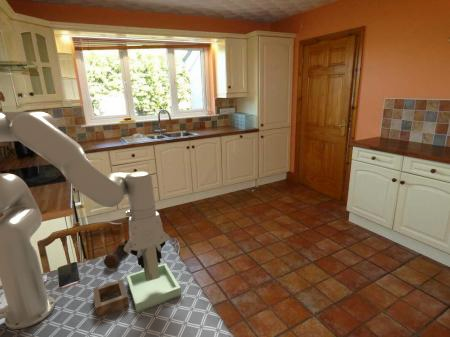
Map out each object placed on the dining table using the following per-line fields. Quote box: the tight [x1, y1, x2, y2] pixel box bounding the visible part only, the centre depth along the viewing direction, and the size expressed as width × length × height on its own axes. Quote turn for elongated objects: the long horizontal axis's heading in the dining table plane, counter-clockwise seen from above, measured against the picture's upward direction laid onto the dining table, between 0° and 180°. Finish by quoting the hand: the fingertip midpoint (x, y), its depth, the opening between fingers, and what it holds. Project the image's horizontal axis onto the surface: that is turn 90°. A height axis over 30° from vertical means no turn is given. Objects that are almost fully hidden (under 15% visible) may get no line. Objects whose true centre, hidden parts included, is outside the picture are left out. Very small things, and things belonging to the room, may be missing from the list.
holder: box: [93, 278, 130, 319], centre depth 87 cm, size 9×10×4 cm
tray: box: [125, 262, 182, 313], centre depth 92 cm, size 14×16×3 cm
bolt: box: [103, 240, 128, 269], centre depth 112 cm, size 6×5×15 cm
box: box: [141, 244, 159, 281], centre depth 90 cm, size 5×4×13 cm
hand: (150, 262), depth 90 cm, fingers closed on box, 4 cm apart
